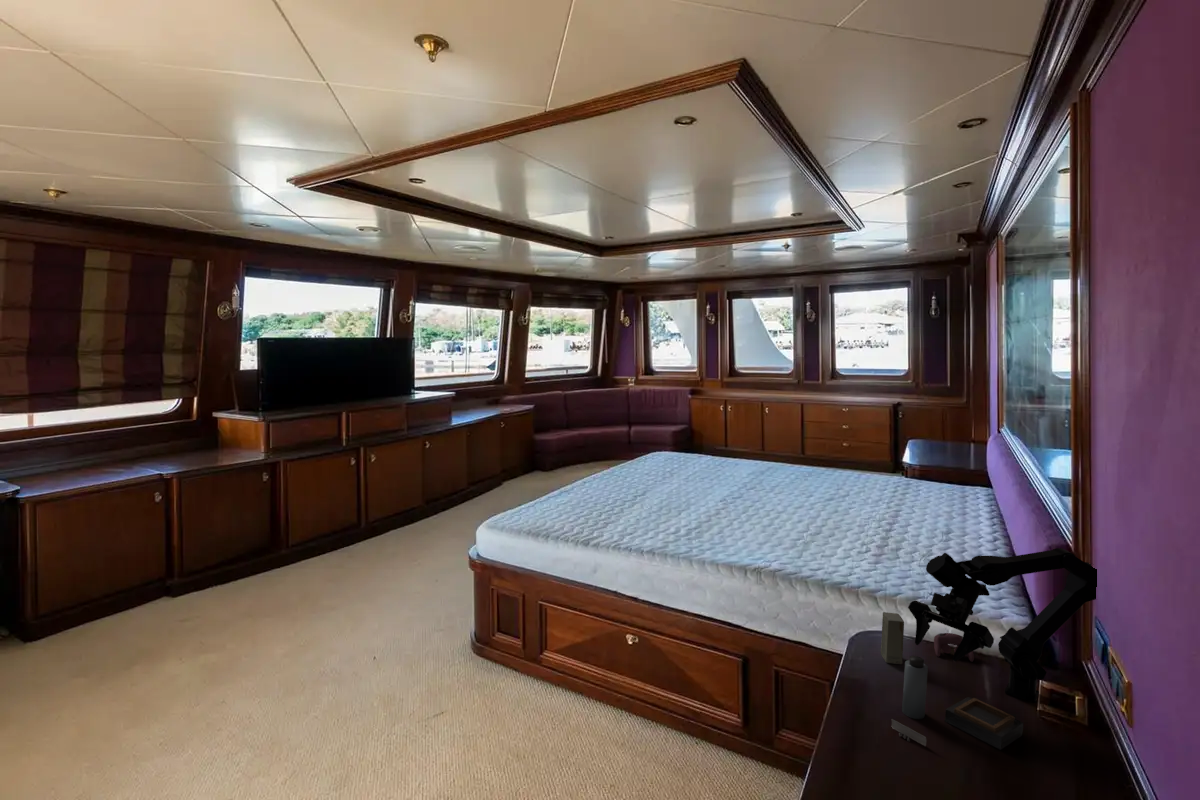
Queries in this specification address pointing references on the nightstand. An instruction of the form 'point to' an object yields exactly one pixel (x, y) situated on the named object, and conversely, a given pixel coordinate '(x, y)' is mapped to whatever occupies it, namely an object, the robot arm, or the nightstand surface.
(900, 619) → the skincare box
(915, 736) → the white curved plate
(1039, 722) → the nightstand surface
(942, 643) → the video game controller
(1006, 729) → the grey rectangular box
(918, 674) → the white capped bottle
